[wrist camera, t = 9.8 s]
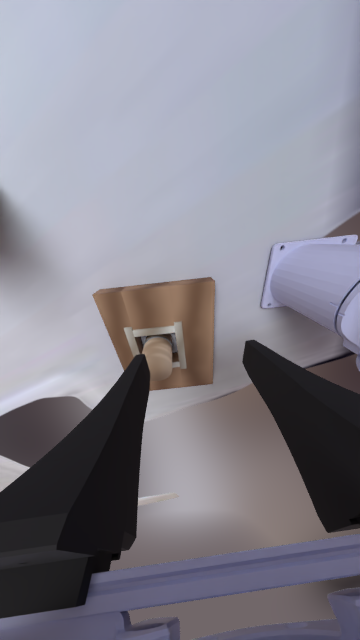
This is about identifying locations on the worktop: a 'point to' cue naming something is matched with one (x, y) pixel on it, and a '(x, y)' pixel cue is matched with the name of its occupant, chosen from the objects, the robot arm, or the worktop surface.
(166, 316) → the socket board
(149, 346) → the peg
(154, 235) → the worktop surface
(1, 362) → the worktop surface
